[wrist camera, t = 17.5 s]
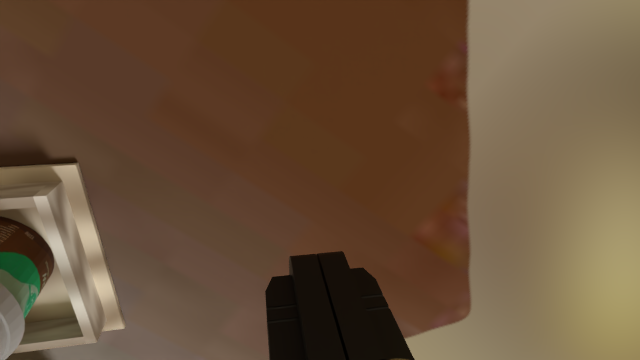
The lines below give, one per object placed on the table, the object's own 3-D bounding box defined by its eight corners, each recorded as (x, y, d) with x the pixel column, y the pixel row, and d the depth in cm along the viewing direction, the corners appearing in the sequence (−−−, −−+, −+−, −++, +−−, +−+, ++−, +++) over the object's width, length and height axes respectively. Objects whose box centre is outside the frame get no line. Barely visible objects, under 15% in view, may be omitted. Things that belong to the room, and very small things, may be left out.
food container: (58, 315, 39) (2, 405, 30) (-10, 305, 37) (-93, 398, 28) (77, 218, 35) (18, 289, 26) (1, 202, 33) (-91, 272, 24)
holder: (-131, 174, 30) (-174, 192, 27) (78, 162, 33) (60, 178, 30) (-35, 345, 39) (-60, 374, 36) (125, 325, 41) (115, 350, 38)
